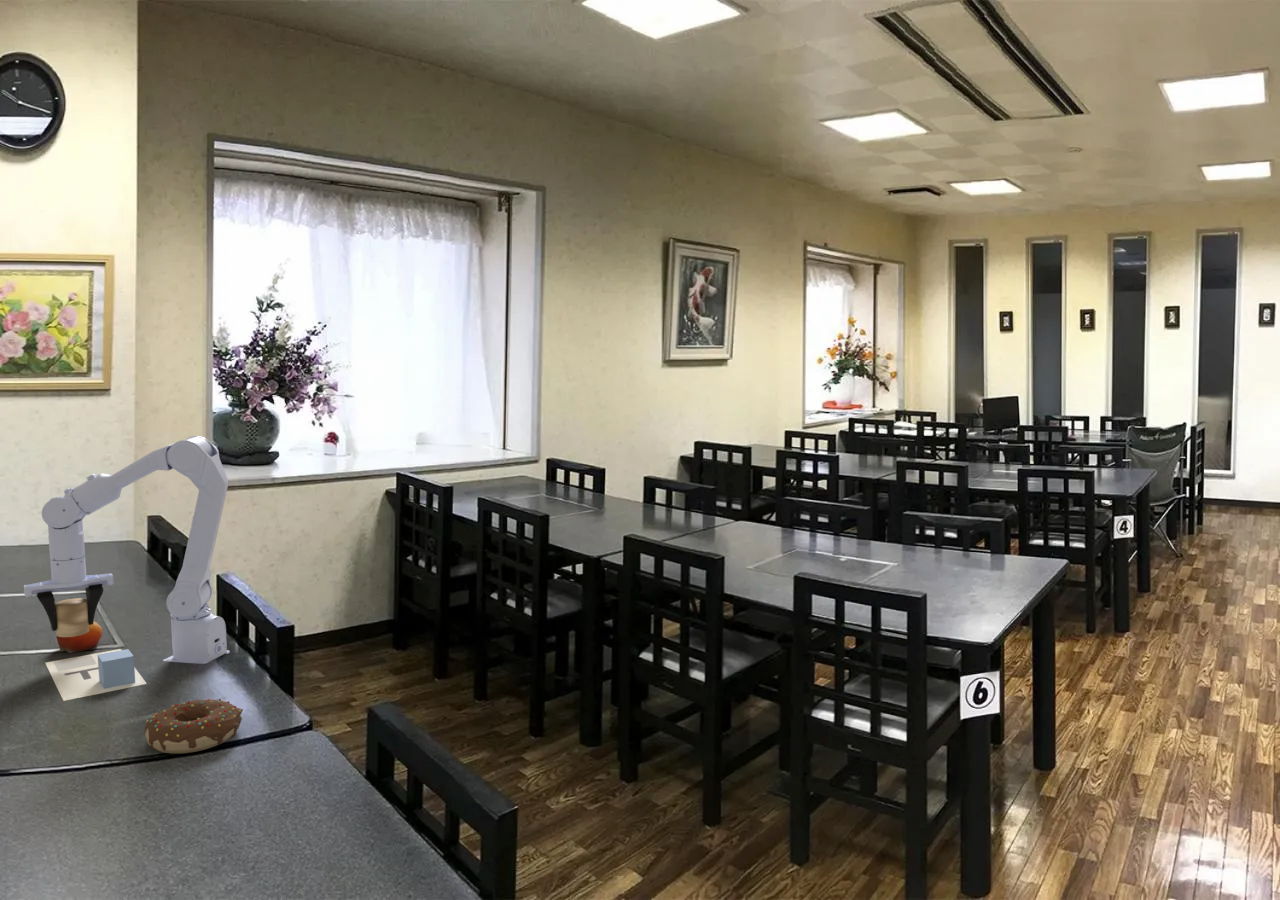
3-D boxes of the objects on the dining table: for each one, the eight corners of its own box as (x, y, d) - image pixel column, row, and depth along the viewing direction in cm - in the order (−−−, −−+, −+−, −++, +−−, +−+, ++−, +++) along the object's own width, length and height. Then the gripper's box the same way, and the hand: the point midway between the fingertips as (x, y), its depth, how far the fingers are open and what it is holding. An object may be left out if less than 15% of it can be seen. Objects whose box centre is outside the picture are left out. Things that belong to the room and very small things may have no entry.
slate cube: (129, 674, 172) (128, 649, 171) (135, 682, 168) (133, 655, 167) (99, 681, 169) (97, 654, 168) (104, 688, 165) (102, 661, 164)
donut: (153, 768, 136) (151, 735, 135) (139, 736, 147) (137, 706, 146) (255, 743, 144) (253, 712, 143) (234, 715, 155) (233, 686, 154)
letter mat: (120, 651, 187) (120, 648, 187) (147, 686, 167) (146, 683, 167) (45, 665, 179) (45, 662, 179) (63, 704, 159) (63, 700, 159)
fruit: (38, 648, 184) (57, 610, 187) (74, 658, 191) (91, 621, 194) (62, 654, 181) (81, 615, 183) (97, 664, 187) (115, 626, 190)
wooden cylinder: (86, 626, 181) (84, 596, 180) (91, 633, 177) (89, 603, 176) (54, 631, 178) (52, 601, 177) (58, 639, 174) (56, 608, 173)
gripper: (107, 548, 184) (111, 614, 185) (20, 559, 175) (25, 628, 176) (113, 555, 178) (118, 623, 180) (24, 566, 169) (29, 637, 171)
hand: (72, 626), depth 177 cm, fingers closed on wooden cylinder, 5 cm apart
